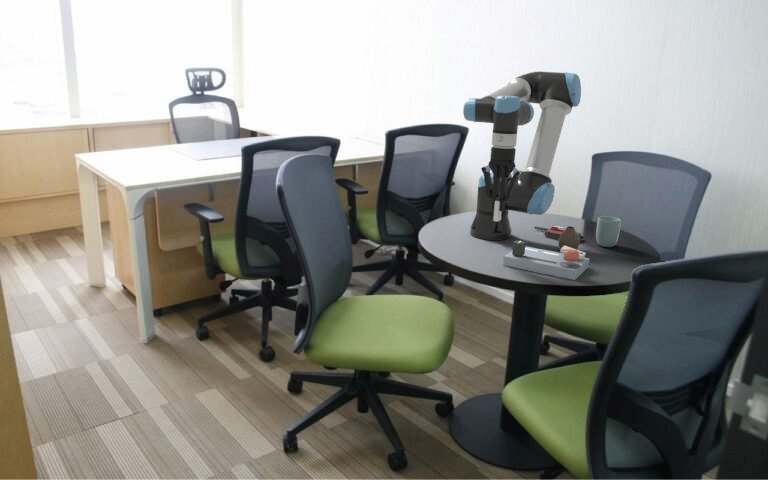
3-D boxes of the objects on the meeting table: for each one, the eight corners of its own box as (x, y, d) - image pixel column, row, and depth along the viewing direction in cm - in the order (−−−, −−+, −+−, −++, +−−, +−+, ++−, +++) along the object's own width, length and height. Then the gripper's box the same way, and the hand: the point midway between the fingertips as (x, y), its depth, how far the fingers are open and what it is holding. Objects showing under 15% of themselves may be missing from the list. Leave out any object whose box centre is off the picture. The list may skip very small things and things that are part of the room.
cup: (618, 249, 224) (622, 222, 221) (595, 247, 225) (599, 220, 222) (615, 243, 231) (619, 216, 228) (593, 241, 232) (596, 215, 230)
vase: (554, 251, 219) (556, 227, 217) (563, 247, 224) (565, 223, 222) (572, 256, 215) (575, 231, 212) (581, 251, 220) (584, 227, 217)
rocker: (559, 251, 202) (561, 248, 201) (563, 248, 205) (564, 245, 205) (581, 259, 199) (582, 255, 198) (584, 256, 202) (586, 252, 201)
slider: (512, 254, 203) (513, 242, 201) (515, 252, 205) (516, 239, 204) (521, 256, 201) (522, 243, 200) (524, 253, 204) (525, 241, 202)
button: (561, 259, 194) (562, 251, 193) (565, 256, 198) (566, 248, 197) (575, 262, 192) (576, 254, 191) (579, 259, 195) (580, 251, 195)
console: (502, 265, 203) (504, 252, 202) (519, 253, 215) (520, 241, 214) (574, 280, 191) (576, 266, 190) (588, 267, 204) (589, 254, 202)
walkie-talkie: (585, 239, 236) (535, 230, 247) (587, 228, 235) (536, 219, 246) (577, 245, 229) (525, 234, 240) (578, 233, 228) (526, 223, 239)
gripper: (479, 145, 198) (473, 219, 204) (519, 150, 191) (511, 226, 198) (488, 143, 204) (483, 215, 210) (527, 147, 197) (520, 221, 204)
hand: (497, 220), depth 204 cm, fingers closed
